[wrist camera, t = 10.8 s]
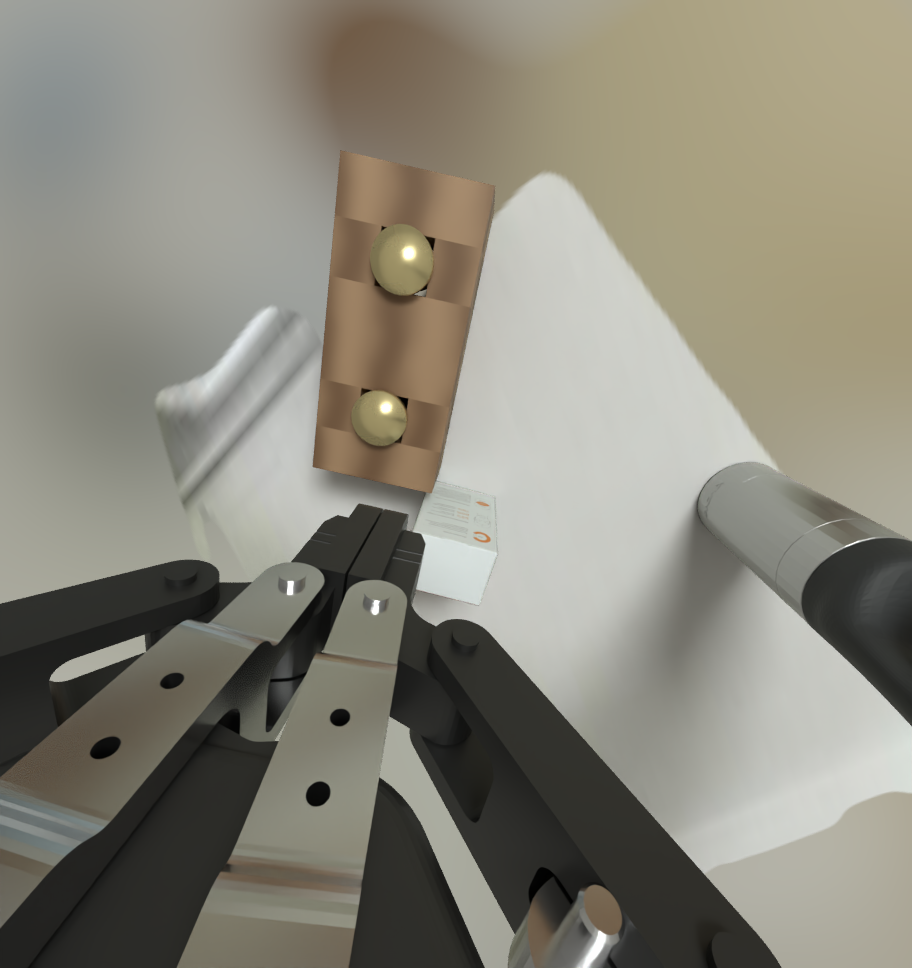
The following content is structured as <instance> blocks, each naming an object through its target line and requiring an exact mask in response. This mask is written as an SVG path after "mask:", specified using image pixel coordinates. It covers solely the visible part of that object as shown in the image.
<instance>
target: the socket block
mask: <svg viewBox="0 0 912 968" xmlns="http://www.w3.org/2000/svg"><path fill="white" fill-rule="evenodd" d="M494 197H495V186H494V185H489V184H485V183H481V182H476V181H471V180H467V179H463V178H459V177H454V176H450V175H445V174H441V173H437V172H432V171H428V170H424V169H419V168H415V167H411V166H406V165H402V164H397V163H393V162H389V161H384V160H380V159H375V158H372V157H367V156H363V155H359V154H354V153H349V152H345V151H340V162H339V173H338V186H337V196H336V208H335V219H334V230H333V242H332V253H331V264H330V276H329V287H328V299H327V310H326V321H325V333H324V344H323V356H322V367H321V378H320V390H319V401H318V413H317V424H316V435H315V447H314V458H313V467H315V468H320V469H324V470H329V471H333V472H338V473H342V474H347V475H351V476H356V477H360V478H365V479H369V480H374V481H378V482H382V483H387V484H391V485H396V486H400V487H405V488H409V489H414V490H418V491H423V492H427V493H432V491H433V488H434V485H435V482H436V479H437V476H438V473H439V470H440V467H441V463H442V458H443V453H444V448H445V443H446V439H447V434H448V429H449V424H450V419H451V415H452V410H453V405H454V400H455V395H456V391H457V386H458V381H459V376H460V371H461V367H462V362H463V357H464V352H465V347H466V343H467V338H468V333H469V328H470V323H471V319H472V314H473V309H474V304H475V300H476V295H477V290H478V285H479V280H480V276H481V271H482V266H483V261H484V256H485V252H486V247H487V242H488V237H489V232H490V228H491V223H492V218H493V213H494ZM395 224H406V225H409V226H412V227H414V228H416V229H417V230H419V231H420V232H421V233H422V234H423V235H424V236H425V238H426V239H427V240H428V242H429V244H430V246H431V248H432V250H433V255H434V270H433V274H432V276H431V279H430V281H429V282H428V286H427V292H426V297H422V296H418V295H408V296H401V295H397V294H393V293H391V292H389V291H387V290H386V289H384V288H383V287H382V286H381V285H380V284H379V283H378V281H377V280H376V278H375V276H374V274H373V272H372V268H371V263H370V253H371V248H372V245H373V243H374V240H375V239H376V237H377V236H378V235H379V233H380V232H381V231H382V230H384V229H385V228H387V227H389V226H391V225H395ZM372 390H386V391H389V392H391V393H393V394H395V395H396V396H400V397H405V398H409V399H408V405H407V415H408V423H407V427H406V429H405V431H404V433H403V434H402V435H401V437H400V438H399V439H398V440H397V441H395V442H394V443H392V444H389V445H385V446H377V445H373V444H370V443H368V442H366V441H364V440H363V439H362V438H361V437H360V436H359V435H358V434H357V432H356V431H355V429H354V427H353V424H352V418H351V414H352V409H353V406H354V404H355V402H356V401H357V400H358V399H359V398H360V397H361V396H362V395H364V394H365V393H367V392H369V391H372Z"/></svg>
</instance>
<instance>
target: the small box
mask: <svg viewBox="0 0 912 968" xmlns="http://www.w3.org/2000/svg"><path fill="white" fill-rule="evenodd" d="M412 532H415V533H420V534H422V537H423V539H424V541H425V544H426V545H425V550H424V555H423V559H422V564H421V569H420V574H419V578H418V583H417V588H416V590H419V591H423V592H427V593H431V594H435V595H439V596H442V597H446V598H450V599H454V600H458V601H462V602H466V603H470V604H474V605H477V606H479V605H480V603H481V600H482V597H483V595H484V592H485V589H486V586H487V584H488V581H489V578H490V575H491V572H492V570H493V567H494V564H495V561H496V559H497V556H498V546H497V527H496V504H495V497H494V496H491V495H487V494H483V493H480V492H476V491H472V490H468V489H464V488H461V487H457V486H453V485H449V484H445V483H441V482H437V481H436V482H435V485H434V488H433V491H432V493H427V492H426V494H425V496H424V499H423V502H422V505H421V508H420V511H419V514H418V517H417V520H416V522H415V525H414V528H413V531H412Z"/></svg>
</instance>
